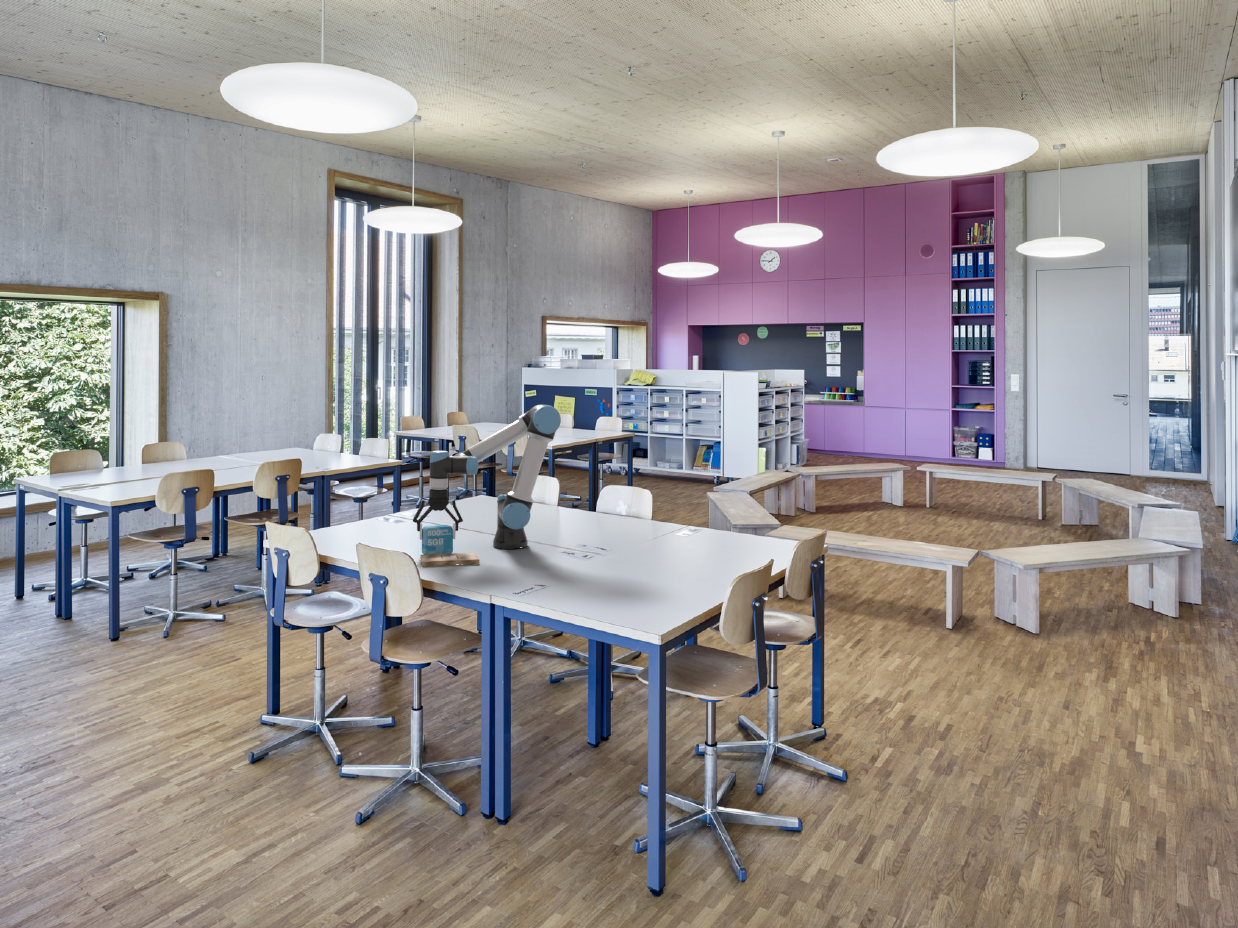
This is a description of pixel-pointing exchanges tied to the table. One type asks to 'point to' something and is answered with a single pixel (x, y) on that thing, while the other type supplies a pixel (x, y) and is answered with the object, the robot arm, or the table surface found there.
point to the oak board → (449, 559)
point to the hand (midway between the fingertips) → (437, 539)
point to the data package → (437, 539)
